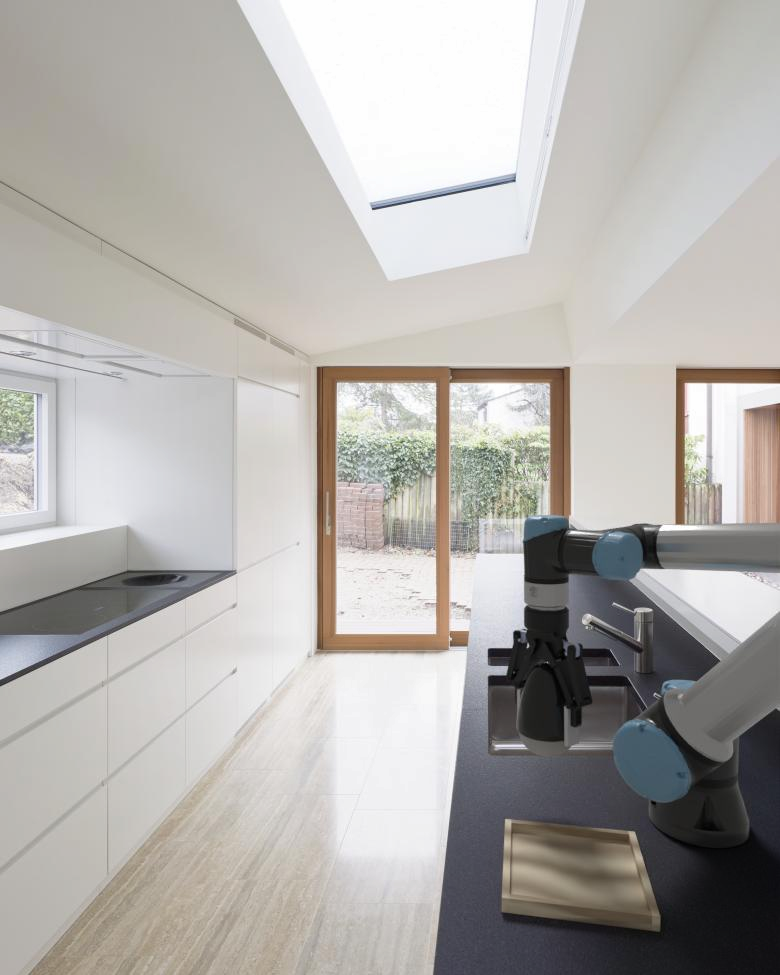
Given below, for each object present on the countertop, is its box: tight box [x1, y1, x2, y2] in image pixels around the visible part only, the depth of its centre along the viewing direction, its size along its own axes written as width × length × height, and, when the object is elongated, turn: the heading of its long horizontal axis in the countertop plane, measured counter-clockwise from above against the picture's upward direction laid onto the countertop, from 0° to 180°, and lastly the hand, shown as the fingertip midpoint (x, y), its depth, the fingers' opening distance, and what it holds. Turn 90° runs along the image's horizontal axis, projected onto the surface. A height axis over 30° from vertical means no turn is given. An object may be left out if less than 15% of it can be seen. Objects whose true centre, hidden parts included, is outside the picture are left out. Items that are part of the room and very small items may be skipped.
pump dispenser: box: [515, 661, 572, 757], centre depth 117 cm, size 10×10×15 cm
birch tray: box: [501, 818, 661, 933], centre depth 98 cm, size 20×20×2 cm
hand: (547, 733), depth 117 cm, fingers closed on pump dispenser, 10 cm apart
